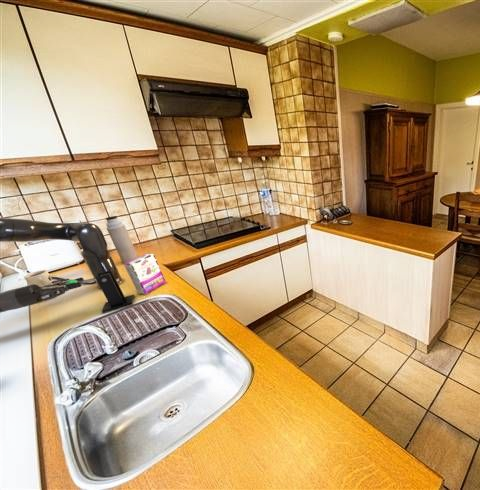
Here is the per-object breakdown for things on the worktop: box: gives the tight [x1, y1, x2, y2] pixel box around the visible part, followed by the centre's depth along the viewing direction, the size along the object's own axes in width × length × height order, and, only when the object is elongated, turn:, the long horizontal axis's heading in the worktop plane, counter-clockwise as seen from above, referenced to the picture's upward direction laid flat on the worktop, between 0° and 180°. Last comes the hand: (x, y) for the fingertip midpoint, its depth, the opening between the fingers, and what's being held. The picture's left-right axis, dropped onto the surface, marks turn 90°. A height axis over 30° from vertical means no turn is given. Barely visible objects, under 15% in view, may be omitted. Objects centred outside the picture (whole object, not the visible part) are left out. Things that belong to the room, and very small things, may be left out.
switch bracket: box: [96, 270, 135, 314], centre depth 115 cm, size 10×8×16 cm
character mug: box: [23, 269, 54, 287], centre depth 125 cm, size 11×7×13 cm, turn 63°
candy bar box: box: [123, 253, 167, 295], centre depth 127 cm, size 11×5×16 cm, turn 168°
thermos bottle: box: [105, 215, 139, 264], centre depth 158 cm, size 8×8×28 cm
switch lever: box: [66, 273, 109, 286], centre depth 110 cm, size 13×4×4 cm, turn 124°
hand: (81, 281), depth 109 cm, fingers closed on switch lever, 3 cm apart
